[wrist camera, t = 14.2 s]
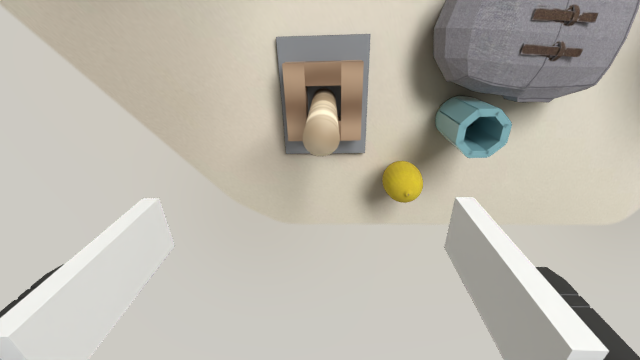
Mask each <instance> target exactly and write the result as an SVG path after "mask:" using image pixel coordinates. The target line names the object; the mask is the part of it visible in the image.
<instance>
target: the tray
mask: <svg viewBox="0 0 640 360" xmlns="http://www.w3.org/2000/svg"><path fill="white" fill-rule="evenodd" d="M276 41H277V53H278V64H279V76H280V88H281V99H282V111H283V122H284V134H285V145H286V154H304V153H310V152H308V151H307V149H306V148H305V146H304V144H303V141H288V130H287V118H286V106H285V93H284V81H283V69H282V64H283V63H285V62H306V61H343V60H362V61H364V67H363V93H362V118H361V140H352V141H339V145H338V147H337V149H336V150H335V151H334V152H333V153H365V138H366V117H367V96H368V74H369V53H370V34H354V35H322V36H290V37H276ZM321 88H327V89H330V90H331V91H332V92H333V93H334V95H335V98H336V107H337V116H341V85H335V86H307V94H308V114H309V110H310V107H311V103H312V99H313V96H314V94H315V92H316V91H317V90H319V89H321Z"/></svg>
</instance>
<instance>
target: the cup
mask: <svg viewBox="0 0 640 360" xmlns="http://www.w3.org/2000/svg"><path fill="white" fill-rule="evenodd" d="M511 123H512V122H511V121H510V120H509V118H508V117H507V116H506V115H505V113H504V112H503V111H502V109H500V108H498V107H495V106H493V105H490V104H488V103H486V102H483V101H481V100H478V99H476V98H474V97H466V96H456V97H453V98H451V99H449V100H447V101H446V102H444V103H443V104H442V105H441V107H440V108H439V110H438V111H437V114H436V118H435V124H436V127H437V129H438V131H439V132H440V133H441V134H442V135H443V136H444V137H445V138H446V139H447V140H448V141H449V142H450V143H451V144H452V145H454V146H455V147H456V148H457V149H458V150H459V151H460V152H461V153H463V154H464V155H465V156H466V157H468V158H487V156H488V157H489V156H491V155H492V154H494V153H495V152H496V151H498V150H499V149H500V148H502V147H503V146H504V145H506V144H505V143H507V141H508V137H509V134H510V130H511V126H512V124H511Z"/></svg>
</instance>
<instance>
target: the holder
mask: <svg viewBox="0 0 640 360" xmlns="http://www.w3.org/2000/svg"><path fill="white" fill-rule="evenodd" d="M363 67H364V61H362V60H343V61H306V62H285V63H283V64H282V69H283V81H284V93H285V106H286V118H287V130H288V141H303V133H304V129H305V125H306V121H307V118H308V94H307V86H335V85H341V116H337V117H338V126H339V135H340V141H352V140H361V118H362V93H363Z"/></svg>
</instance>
